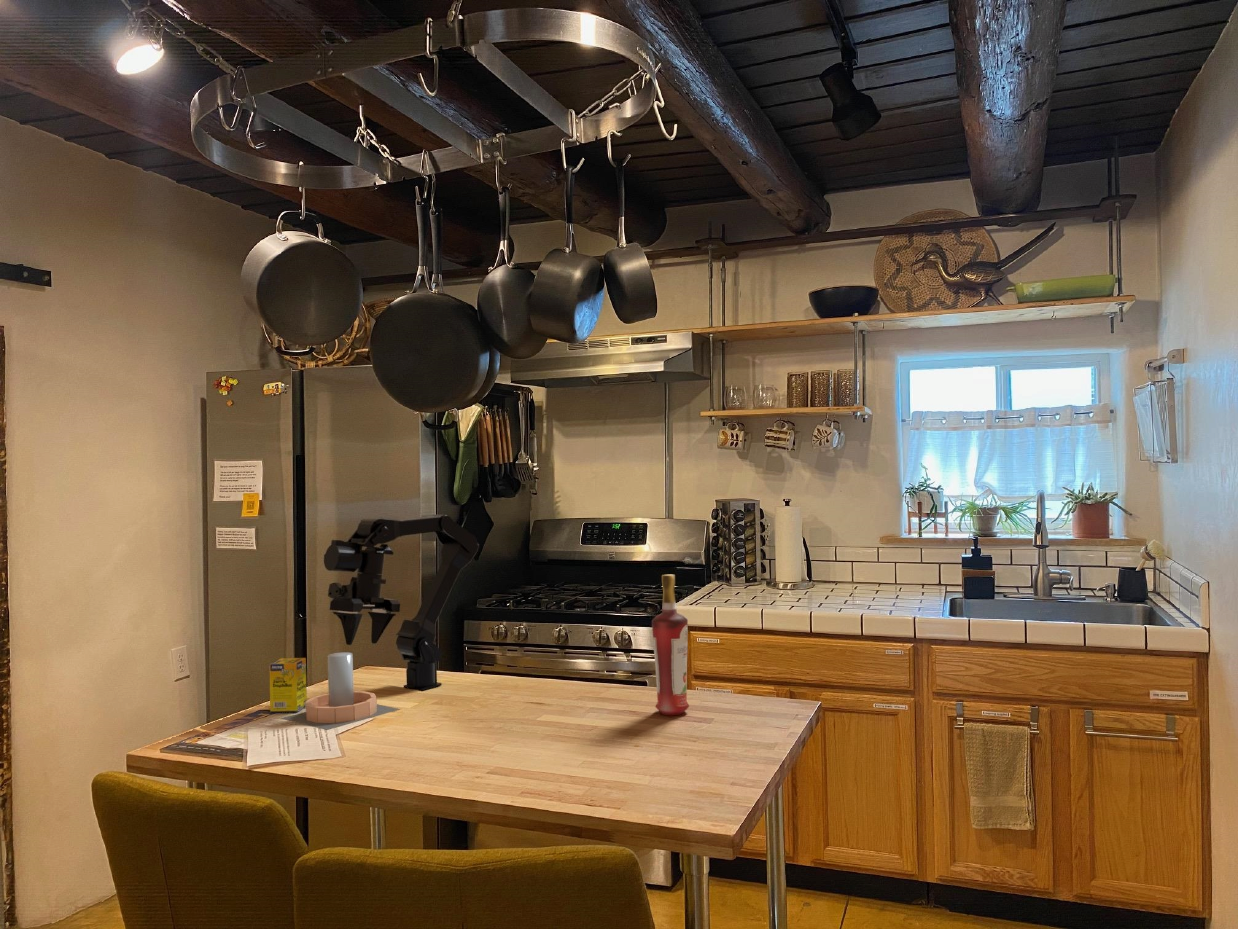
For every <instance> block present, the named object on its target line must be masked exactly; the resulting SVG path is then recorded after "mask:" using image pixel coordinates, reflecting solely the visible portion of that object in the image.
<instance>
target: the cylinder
mask: <svg viewBox="0 0 1238 929" xmlns="http://www.w3.org/2000/svg"><path fill="white" fill-rule="evenodd" d="M353 658H354V656H353V652H347V651H346V652H344V651H343V652H334V653H330V654H328V655H327V678H328V679H327V681H328V682H327V685H328V689H327V690H328V693H329V707H338V706H347V705H353V704H354V691H355V690H354V664H353V663H354V660H353Z"/></svg>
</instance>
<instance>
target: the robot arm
mask: <svg viewBox="0 0 1238 929" xmlns="http://www.w3.org/2000/svg"><path fill="white" fill-rule="evenodd" d="M427 533H434V534H435V537H436V540H437V541H438V543H440V545H441V549H440V550H441V551H440V555H441V556H440V558H441V560H440V561H441V562H440V565H439V567H438V569H437V572H436V574H435V576H434V578H433V579H432V580H433V581H432V582H431V584H430V586H429V589H428V590H427V593H426V595H425V597H424V599H423V601H422V602H421V605H420V607H419V608H418V611H417V614H416V615H415V616H414V617H413V618H412V619H404V620H403V621H402V624H401V627H400V629H399V630H398V631H397V633H396V636H397V637H396V641H395V644H396V648H397V650H398V652H399V653H400V654H401V658H402V660H403V661H407V664H406V666H407V668H406V670H405V672H406V673H405V674H406V677H405V678H406V684H404V685H403V688H405V689H410V690H415V691H420V692H421V691H426V690H429V689H433V688H437V687H440V686H442V684H443V683H442V682H438V673H437V672H438V671H437V669H438V668H437V667H438V664H437V662H441V660H442V656H443V654H444V653H443V651H442V650H441V648H439V647H438V646H437V645H436V644H435V641H436V637H437V636H436V635H437V634H436V633H437V632H436V623H437V621H438V619H439V617H440V615H441V612H442V610H443V608H444V606H445V604H446V602H447V599H448V598H449V596H450V593H451V591H452V589H453V587H454V585H455V582H456V581H457V578H458V577H459V574H460V572H461V571H462V570H463V569H464V568H465V567H466V566H467V565H468V564H470V563H471V562H472V560H473V559H474V557H475V556H476V554H477V552H479V547H480V544H479V543H478V539H477V537H476V536H475V534H472V533H470V532H469V531H468V529H466V528H464V527H463V526H461V525H460V524H458V523H457V522H456V521H455V520H454V519H453V518H452V517H451V516H449V515H447V514H433V515H429V516H421V517H420V516H419V517H411V518H410V517H409V518H402V519H392V518H380V517H379V518H376V517H366V518H363V519H361V520H360V522H359V523H358V525H357V528H356V530H355V531H354V532H353V533H352V534H351V536H350V537H349V538H348V540H346V541H345V540H340V539H332V540H330V541H331V543H330V545H329V546H328V547H327V549H326V551H325V553H324V555H323V564H324V567H325V569H326V570H327V571H329V572H339V573H340V572H341V573H342V572H344V573H355V572H356V574H355V576H352V577H351V578H350V583H348V584H343V585H342V584H341V583H340V582H335V581H334V582H332V583H329V585H328V590H327V591H328V592H327V597H329V598H330V601H329V609H328V610H329V611H332V614H333V615H336V616H337V618H338V619H339V621H340V623H341V626H342V629H343V634H344V639H345V644H346V645H347V646H352V644H353V642H354V640H355V637H356V635H357V631H358V628H359V625H360V623H361V619H362V617H363V613H360V612H361V611H362V610H371V611H367V613H368V615H369V617H370V619H371V635H370V636H371V644H372V645H373V644H377V643H378V642H379V640H380V638H381V636H382V634H383V633H384V631H385V630H386V628H387V627H388V625H389V624H390V622H391V621H392V619H393V618H394V617H395V616H396V615H397V613H400V612H401V611H400V610H401V603H400V601H399V600H398V599H393V598H391V599H390V598H384V597H381V594H382V585H386V583H387V579H386V578H383V575H384V567H385V565H384V564H385V558H386V555H387V556H390V555H391V556H393V555H394V554H395V552H394V551H393V550H392V549H391V548H390V546H389V545H388V544H387V543H389V542H392V541H395V540H397V539H399V538H401V537H404V536H411V535H419V534H427ZM377 545H379V546H377ZM363 548H365V549H363Z"/></svg>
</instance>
